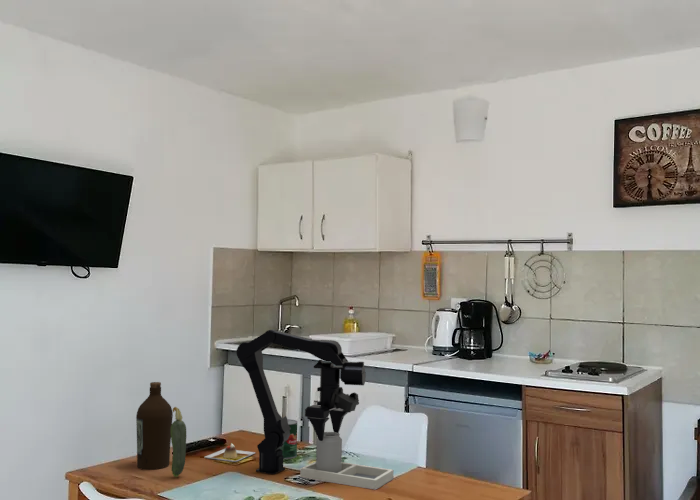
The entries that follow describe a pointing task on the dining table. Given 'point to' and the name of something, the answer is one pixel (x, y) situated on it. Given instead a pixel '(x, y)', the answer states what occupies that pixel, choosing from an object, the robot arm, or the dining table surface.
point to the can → (329, 453)
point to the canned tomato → (290, 441)
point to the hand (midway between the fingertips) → (328, 437)
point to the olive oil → (154, 430)
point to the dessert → (229, 453)
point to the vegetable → (178, 443)
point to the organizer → (350, 475)
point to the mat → (365, 476)
